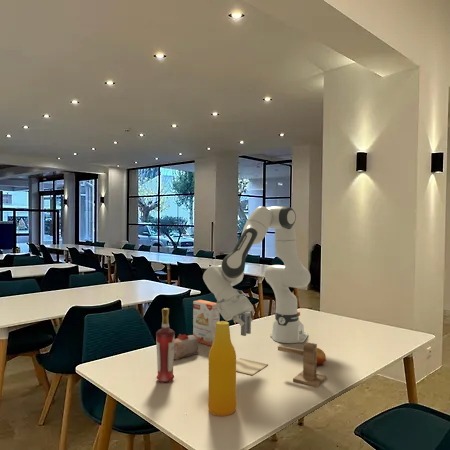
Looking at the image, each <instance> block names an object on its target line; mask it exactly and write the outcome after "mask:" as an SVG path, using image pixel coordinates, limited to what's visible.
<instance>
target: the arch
mask: <svg viewBox="0 0 450 450" xmlns="http://www.w3.org/2000/svg"><path fill="white" fill-rule="evenodd" d="M251 318H252V311H250V312H245V313H243V314H241V316H240V319H241V320H243V321H244V322H245V324H244V325H243V326H240V336H242V337H246V336H247V335H250V334H252V322H251Z"/></svg>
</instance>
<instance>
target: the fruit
mask: <svg viewBox="0 0 450 450" xmlns="http://www.w3.org/2000/svg"><path fill="white" fill-rule="evenodd" d="M326 361H327V357H326V353H325V351H323V349H321V348H319V347H317V367H319V366H321V365H323V364H324V363H326Z"/></svg>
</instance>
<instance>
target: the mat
mask: <svg viewBox="0 0 450 450" xmlns="http://www.w3.org/2000/svg"><path fill="white" fill-rule="evenodd" d="M267 366H269V363H265V362H264V363H263V362H260V361H255V360H250V359H246V358H241V357H239V358H238V359H236V373H238V374H239V373H240V374H243V375H248V376H254V375H256V374H257V373H259V372H260V371H261V370H263V369H265V368H266V367H267Z"/></svg>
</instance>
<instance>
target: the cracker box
mask: <svg viewBox="0 0 450 450" xmlns="http://www.w3.org/2000/svg"><path fill="white" fill-rule="evenodd" d="M216 304H217V302H213V301H208V300H203V299H197V300H193V302H192V306H193V307H192V309H193V310H192V318H193V319H192V325H193V328H192V330H193V331H192V335H194V336H195V337H197V342H198V343H199V344H203V345H206V346H210V347H212V345H213V343H214V339H215V330H216V322H219V321H220V318H221V317H220V315H221V314H220V312H219V310H218V307H217V305H216Z"/></svg>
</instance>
